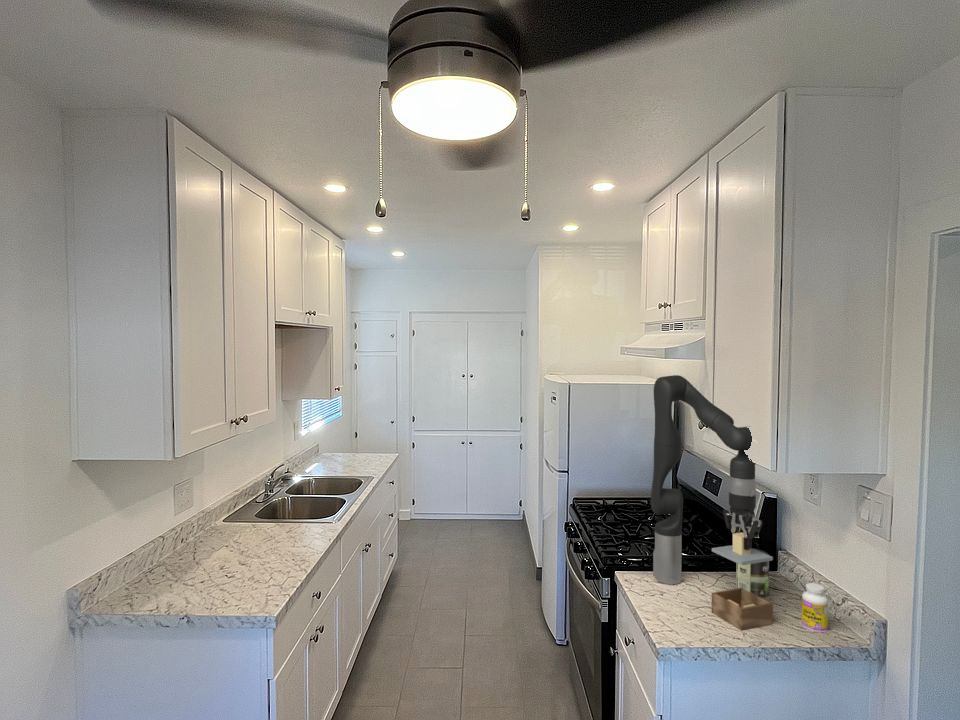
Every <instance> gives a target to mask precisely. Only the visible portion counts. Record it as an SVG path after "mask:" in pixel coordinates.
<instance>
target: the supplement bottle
mask: <svg viewBox="0 0 960 720" xmlns="http://www.w3.org/2000/svg"><path fill="white" fill-rule="evenodd" d="M805 589H806V590H805V591H804V592H803V593H802V594H801V625H802V626H803V627H804V628H805V629H808V630H810V631H812V632H820V633H824V632H827V631H828V625H829V624H828V623H829V622H828V621H829V617H828V616H829V599H828V598H827V596H826V595H825V594H824V593H825V587H824V586H823V585H821V584H818V583H811V582H808V583H806V584H805Z"/></svg>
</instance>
